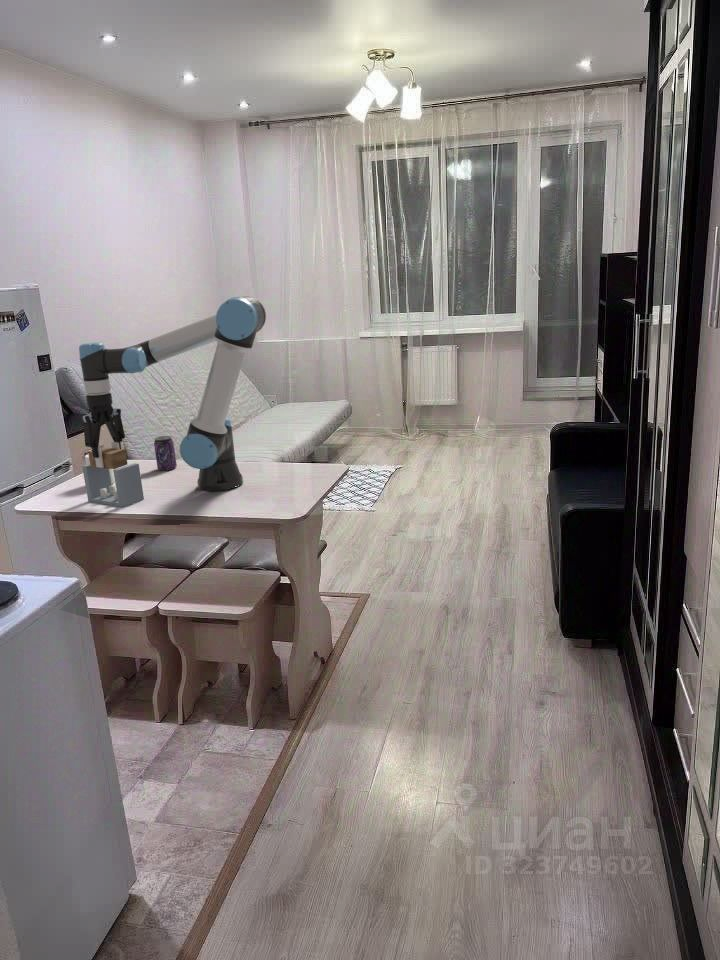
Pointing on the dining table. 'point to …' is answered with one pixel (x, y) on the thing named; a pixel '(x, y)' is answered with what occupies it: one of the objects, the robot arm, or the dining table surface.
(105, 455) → the brown wooden block
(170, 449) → the beverage can
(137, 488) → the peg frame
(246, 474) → the dining table surface
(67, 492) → the dining table surface
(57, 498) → the dining table surface
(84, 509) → the dining table surface
